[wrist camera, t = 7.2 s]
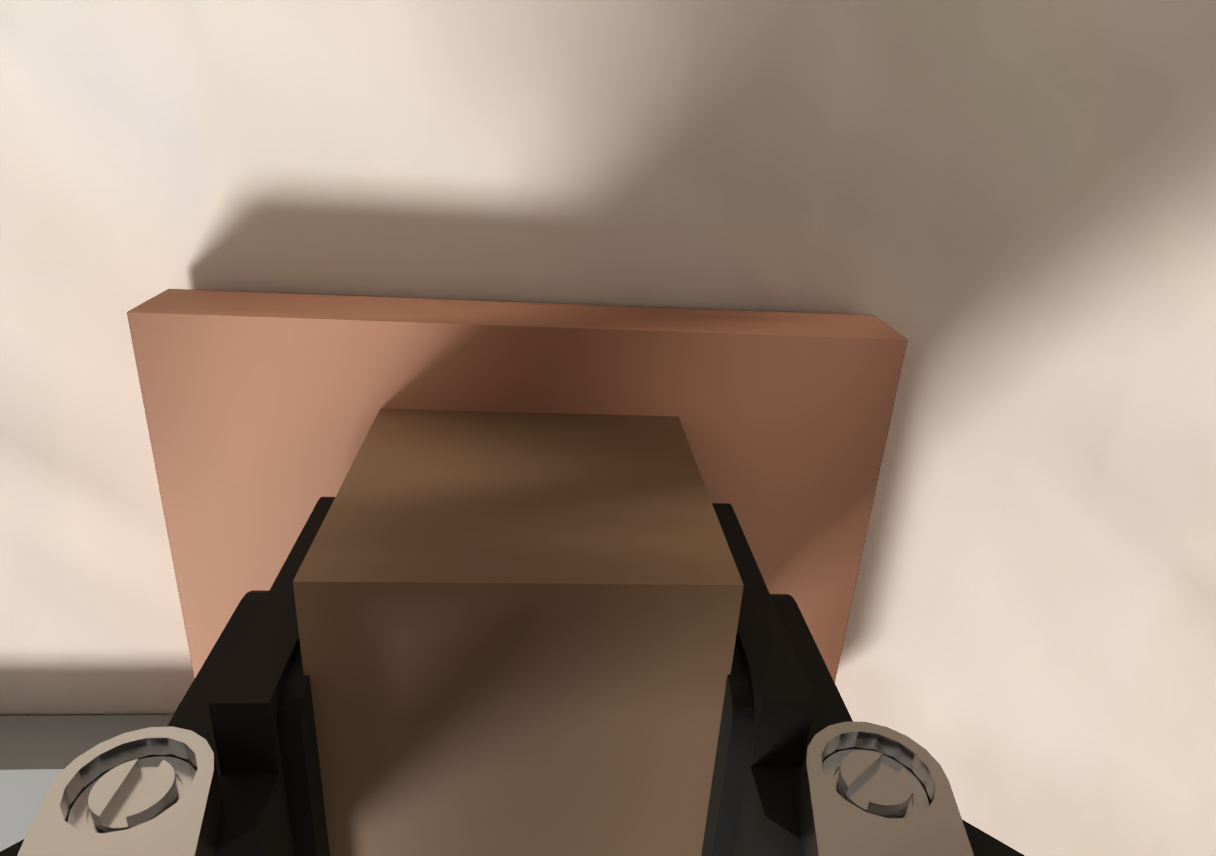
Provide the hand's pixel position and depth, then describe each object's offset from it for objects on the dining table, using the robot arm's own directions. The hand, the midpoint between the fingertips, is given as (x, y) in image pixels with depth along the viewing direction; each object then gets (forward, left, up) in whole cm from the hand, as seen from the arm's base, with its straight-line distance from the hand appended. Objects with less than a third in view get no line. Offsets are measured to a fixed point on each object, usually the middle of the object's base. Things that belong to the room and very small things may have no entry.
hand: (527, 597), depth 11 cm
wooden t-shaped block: (0, 0, -2) cm, 2 cm away
